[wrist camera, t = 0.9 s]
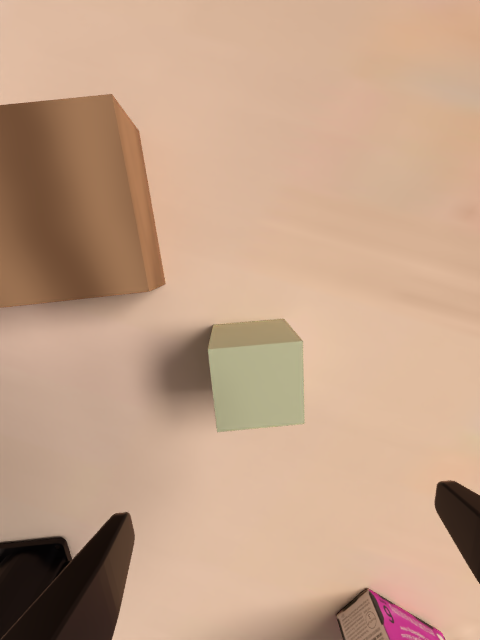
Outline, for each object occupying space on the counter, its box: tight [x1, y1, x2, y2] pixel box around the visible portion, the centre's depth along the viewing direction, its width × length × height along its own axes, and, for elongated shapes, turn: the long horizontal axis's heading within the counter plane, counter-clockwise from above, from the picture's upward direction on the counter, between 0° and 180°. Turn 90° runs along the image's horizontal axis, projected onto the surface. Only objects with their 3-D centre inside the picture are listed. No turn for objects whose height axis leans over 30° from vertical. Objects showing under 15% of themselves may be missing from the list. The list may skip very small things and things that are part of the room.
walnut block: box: [0, 94, 165, 308], centre depth 15 cm, size 9×9×4 cm
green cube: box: [208, 319, 304, 432], centre depth 17 cm, size 5×5×5 cm
